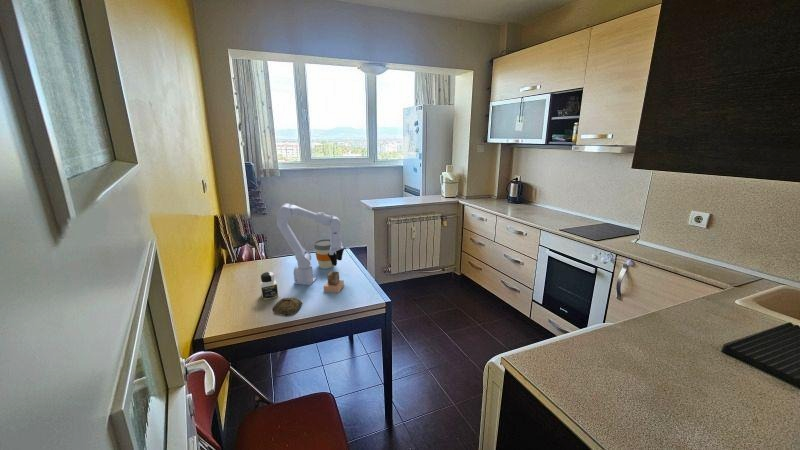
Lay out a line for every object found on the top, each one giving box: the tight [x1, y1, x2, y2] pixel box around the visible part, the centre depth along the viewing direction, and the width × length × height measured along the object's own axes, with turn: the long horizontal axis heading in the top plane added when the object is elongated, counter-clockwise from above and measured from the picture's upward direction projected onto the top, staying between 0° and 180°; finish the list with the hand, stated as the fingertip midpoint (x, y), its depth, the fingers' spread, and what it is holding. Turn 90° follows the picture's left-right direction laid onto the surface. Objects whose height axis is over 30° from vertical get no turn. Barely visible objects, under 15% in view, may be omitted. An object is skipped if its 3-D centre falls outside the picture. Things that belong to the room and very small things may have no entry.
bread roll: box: [271, 297, 303, 317], centre depth 154 cm, size 13×12×5 cm
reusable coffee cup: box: [314, 238, 336, 269], centre depth 201 cm, size 12×13×15 cm
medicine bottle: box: [259, 271, 279, 301], centre depth 165 cm, size 7×7×12 cm
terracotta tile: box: [323, 279, 345, 294], centre depth 173 cm, size 8×8×3 cm
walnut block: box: [327, 271, 340, 285], centre depth 172 cm, size 4×4×6 cm
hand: (337, 262), depth 181 cm, fingers open, 7 cm apart
